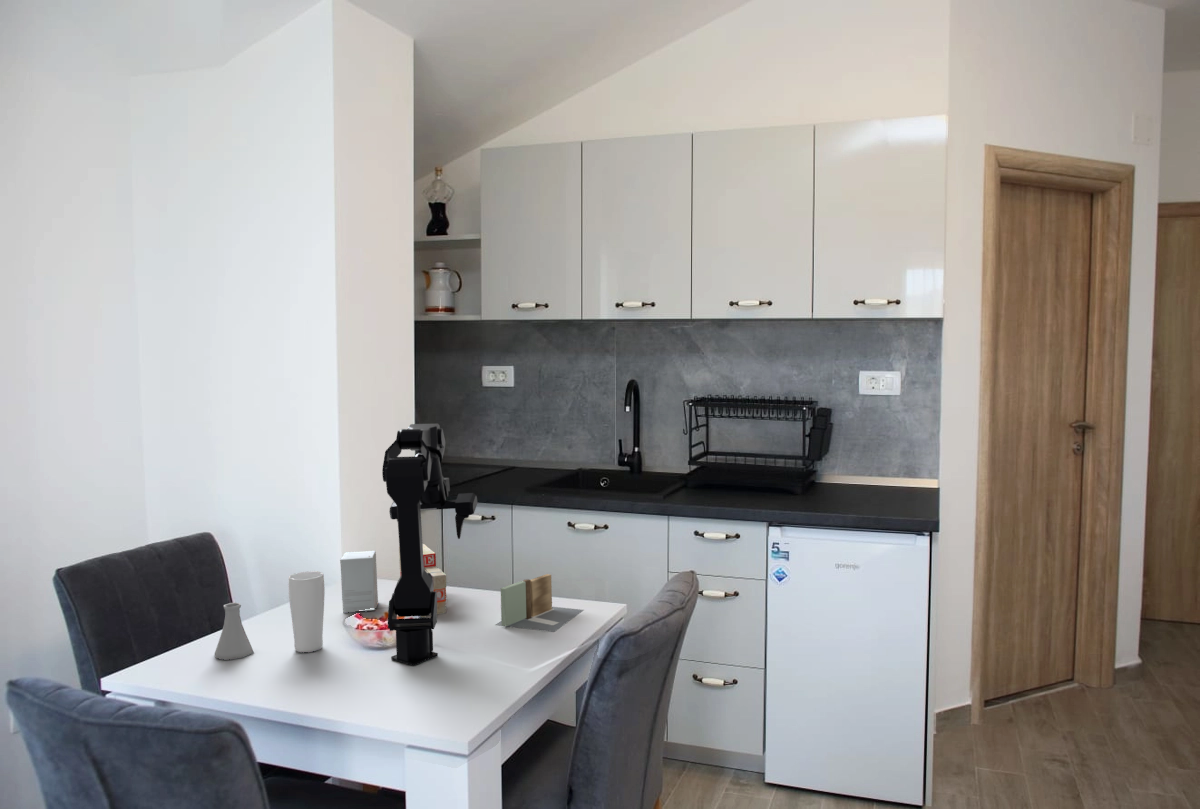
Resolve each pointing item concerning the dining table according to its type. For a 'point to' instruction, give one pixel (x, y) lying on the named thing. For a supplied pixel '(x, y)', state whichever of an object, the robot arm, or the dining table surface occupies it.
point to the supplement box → (359, 581)
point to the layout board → (547, 619)
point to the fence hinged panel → (513, 603)
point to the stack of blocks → (434, 578)
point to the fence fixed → (538, 595)
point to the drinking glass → (307, 609)
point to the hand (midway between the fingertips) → (439, 539)
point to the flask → (233, 635)
